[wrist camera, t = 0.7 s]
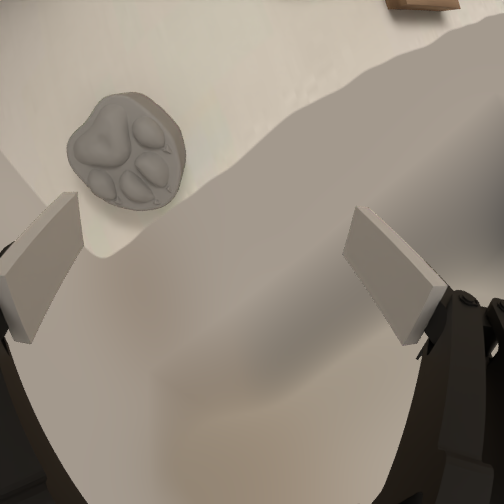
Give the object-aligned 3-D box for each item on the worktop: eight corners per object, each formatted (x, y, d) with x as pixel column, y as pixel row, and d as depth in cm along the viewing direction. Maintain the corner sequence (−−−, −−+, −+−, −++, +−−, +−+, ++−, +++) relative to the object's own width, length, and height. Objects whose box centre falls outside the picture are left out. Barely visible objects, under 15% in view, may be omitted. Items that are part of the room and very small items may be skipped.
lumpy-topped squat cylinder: (134, 80, 31) (113, 80, 23) (207, 153, 36) (207, 172, 29) (79, 143, 33) (49, 160, 26) (149, 208, 39) (136, 240, 32)
